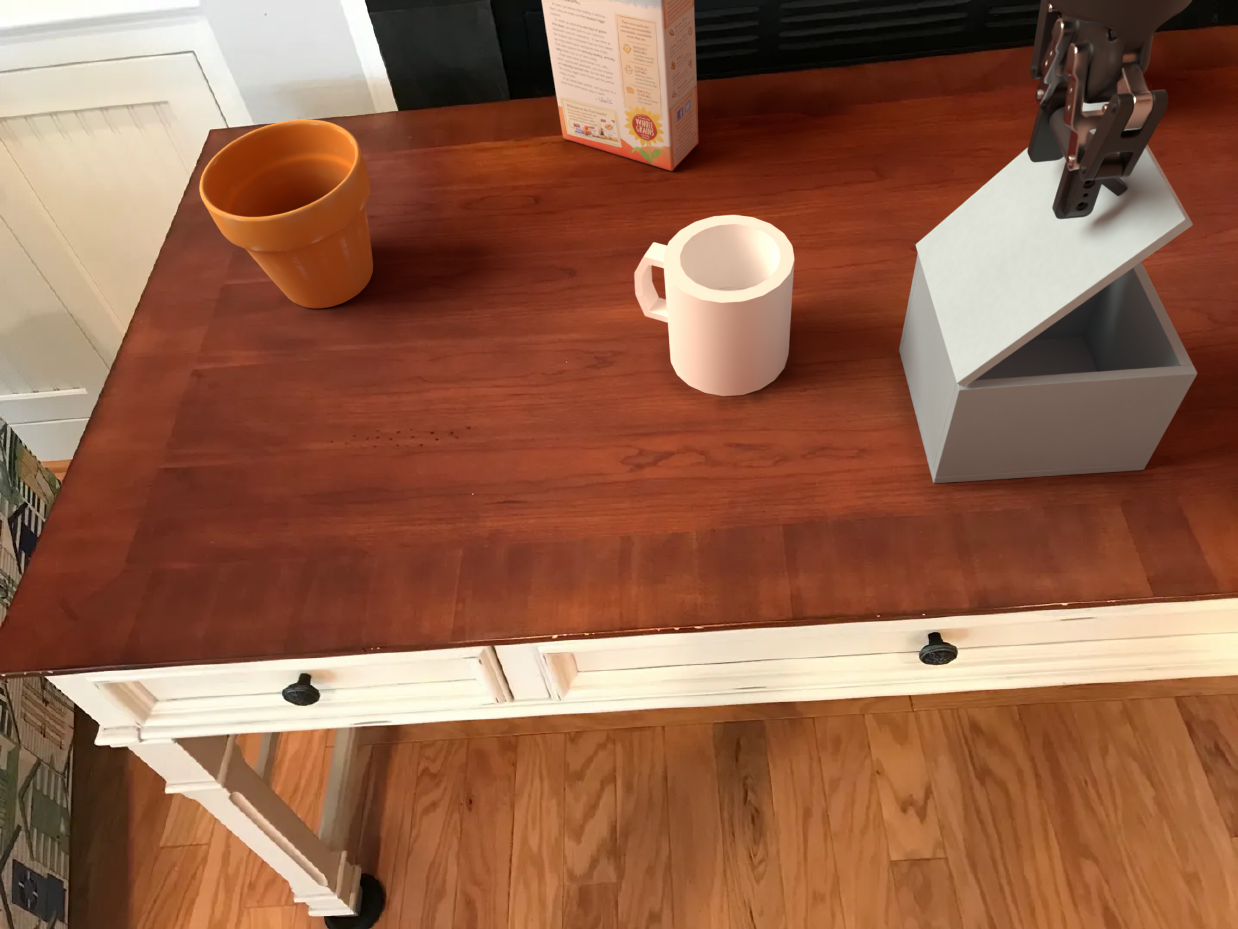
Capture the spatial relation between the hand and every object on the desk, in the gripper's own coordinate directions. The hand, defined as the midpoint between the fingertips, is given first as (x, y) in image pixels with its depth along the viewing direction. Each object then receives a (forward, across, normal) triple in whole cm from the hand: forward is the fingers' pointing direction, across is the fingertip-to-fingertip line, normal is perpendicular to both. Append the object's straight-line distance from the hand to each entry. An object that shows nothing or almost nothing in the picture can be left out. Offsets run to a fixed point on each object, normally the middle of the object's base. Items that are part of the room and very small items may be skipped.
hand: (1057, 184), depth 62 cm
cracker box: (+22, +40, +28) cm, 53 cm away
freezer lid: (+4, 0, 0) cm, 4 cm away
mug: (+22, +9, +21) cm, 32 cm away
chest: (+22, 0, -2) cm, 22 cm away
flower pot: (+21, +22, +58) cm, 66 cm away
